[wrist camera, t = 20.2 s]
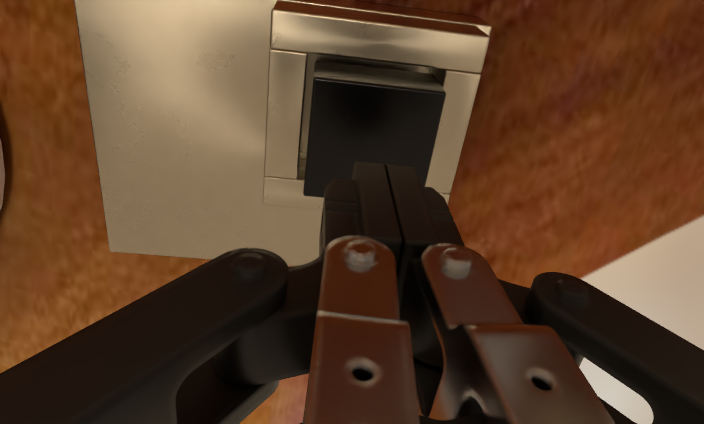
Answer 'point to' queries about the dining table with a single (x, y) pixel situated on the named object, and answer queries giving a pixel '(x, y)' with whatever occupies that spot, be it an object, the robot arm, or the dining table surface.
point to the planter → (1, 175)
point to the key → (369, 121)
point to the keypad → (244, 111)
